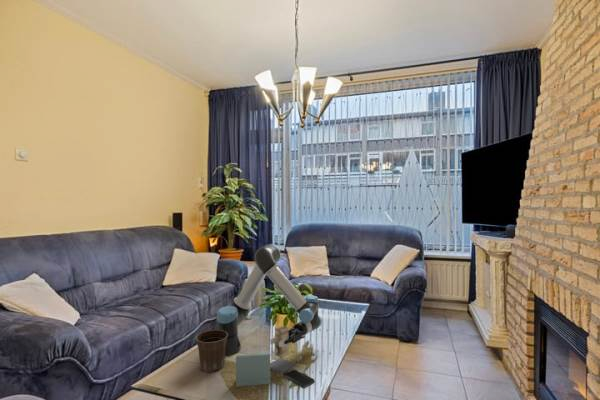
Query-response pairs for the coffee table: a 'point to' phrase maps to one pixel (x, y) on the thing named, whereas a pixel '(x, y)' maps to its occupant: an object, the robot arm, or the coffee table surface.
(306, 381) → the phone
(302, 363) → the coffee table surface
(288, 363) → the charcoal mat
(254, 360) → the standing board
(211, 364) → the plant pot
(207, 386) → the coffee table surface
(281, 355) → the tall tan block
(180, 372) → the coffee table surface
